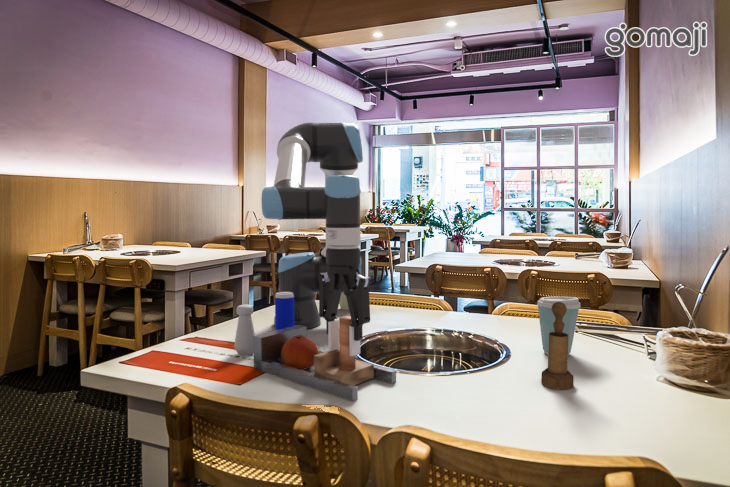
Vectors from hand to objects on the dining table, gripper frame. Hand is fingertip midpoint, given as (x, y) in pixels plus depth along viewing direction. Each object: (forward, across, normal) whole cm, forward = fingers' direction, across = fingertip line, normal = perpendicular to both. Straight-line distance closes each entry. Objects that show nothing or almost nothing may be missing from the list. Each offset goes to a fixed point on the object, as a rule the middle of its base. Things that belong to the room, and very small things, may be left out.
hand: (344, 351), depth 111 cm
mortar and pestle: (+7, +37, +28) cm, 47 cm away
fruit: (+7, -14, 0) cm, 16 cm away
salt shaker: (+7, -34, -1) cm, 35 cm away
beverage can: (+7, -31, +10) cm, 33 cm away
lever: (+6, 0, 0) cm, 6 cm away
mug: (+6, -51, +59) cm, 78 cm away
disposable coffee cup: (+7, +29, +51) cm, 59 cm away
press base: (+7, -7, 0) cm, 10 cm away
